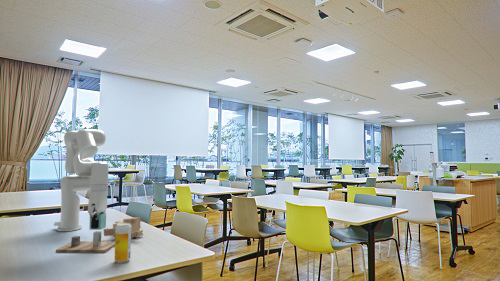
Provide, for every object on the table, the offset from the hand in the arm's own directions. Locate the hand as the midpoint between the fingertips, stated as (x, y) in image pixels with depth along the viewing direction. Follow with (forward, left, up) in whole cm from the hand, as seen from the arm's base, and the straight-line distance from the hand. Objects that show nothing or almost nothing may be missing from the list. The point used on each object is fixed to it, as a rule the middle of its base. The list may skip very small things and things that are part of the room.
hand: (97, 226), depth 147 cm
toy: (+4, +21, -10) cm, 24 cm away
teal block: (0, 0, -1) cm, 1 cm away
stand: (-4, 0, -10) cm, 11 cm away
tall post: (0, 0, -9) cm, 9 cm away
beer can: (+19, -18, -10) cm, 28 cm away
